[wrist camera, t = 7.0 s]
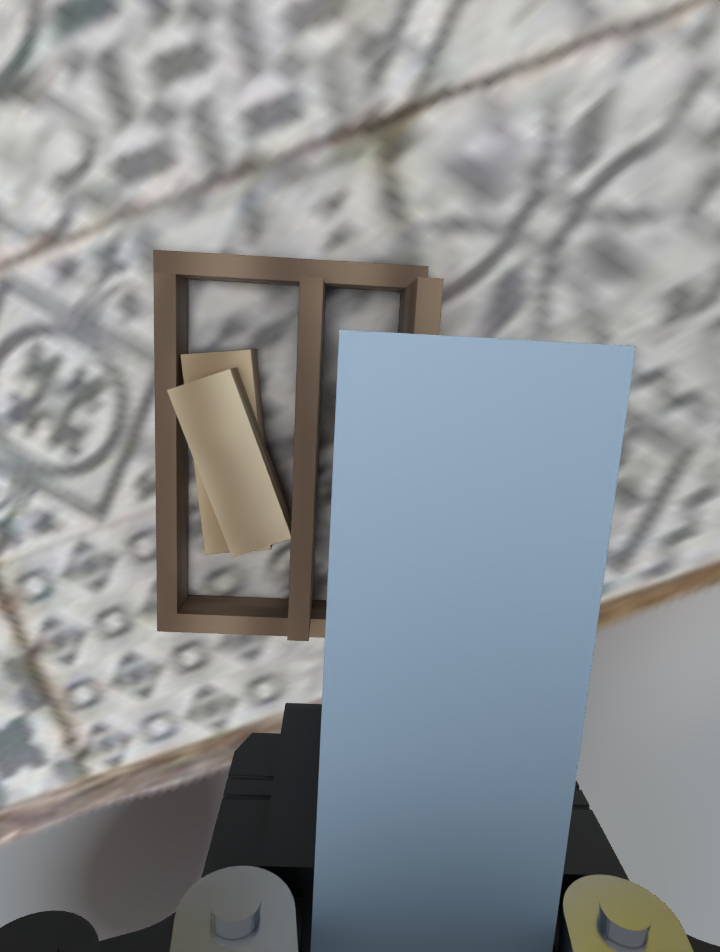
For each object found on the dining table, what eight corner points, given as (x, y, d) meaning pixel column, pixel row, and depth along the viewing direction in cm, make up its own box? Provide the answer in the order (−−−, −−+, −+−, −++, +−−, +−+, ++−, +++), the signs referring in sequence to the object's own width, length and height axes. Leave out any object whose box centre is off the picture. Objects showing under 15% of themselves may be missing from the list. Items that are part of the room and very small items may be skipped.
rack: (421, 271, 39) (445, 251, 30) (397, 620, 43) (411, 691, 35) (167, 256, 38) (115, 231, 29) (169, 611, 43) (125, 681, 34)
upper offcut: (237, 367, 37) (229, 369, 35) (295, 525, 39) (291, 538, 37) (178, 386, 37) (166, 390, 35) (238, 544, 39) (232, 557, 37)
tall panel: (418, 342, 21) (635, 346, 5) (391, 727, 24) (482, 1458, 8) (341, 338, 21) (339, 330, 5) (323, 725, 24) (287, 1461, 8)
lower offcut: (257, 348, 40) (250, 349, 37) (275, 535, 42) (270, 549, 39) (192, 353, 40) (180, 354, 37) (214, 539, 42) (205, 554, 39)
